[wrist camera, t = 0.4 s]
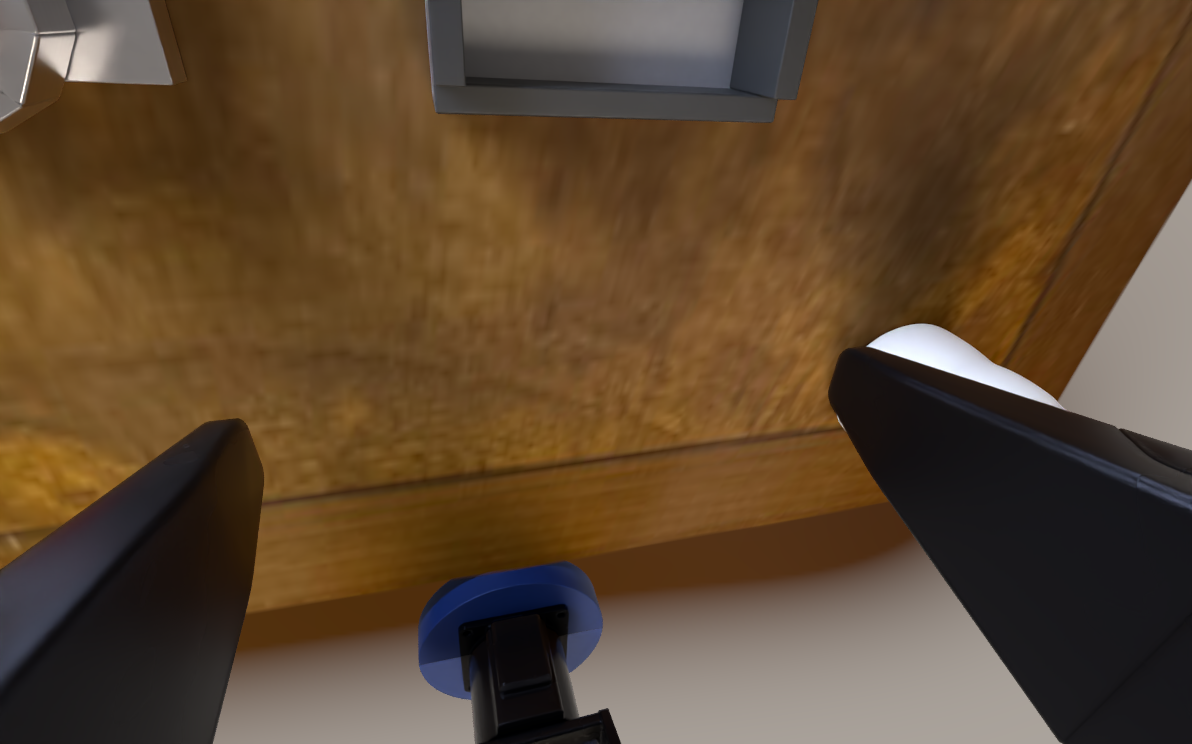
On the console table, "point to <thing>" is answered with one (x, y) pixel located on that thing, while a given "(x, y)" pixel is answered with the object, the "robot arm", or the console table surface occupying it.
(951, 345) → the water bottle
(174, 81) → the button block
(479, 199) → the console table surface
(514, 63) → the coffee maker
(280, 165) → the console table surface
